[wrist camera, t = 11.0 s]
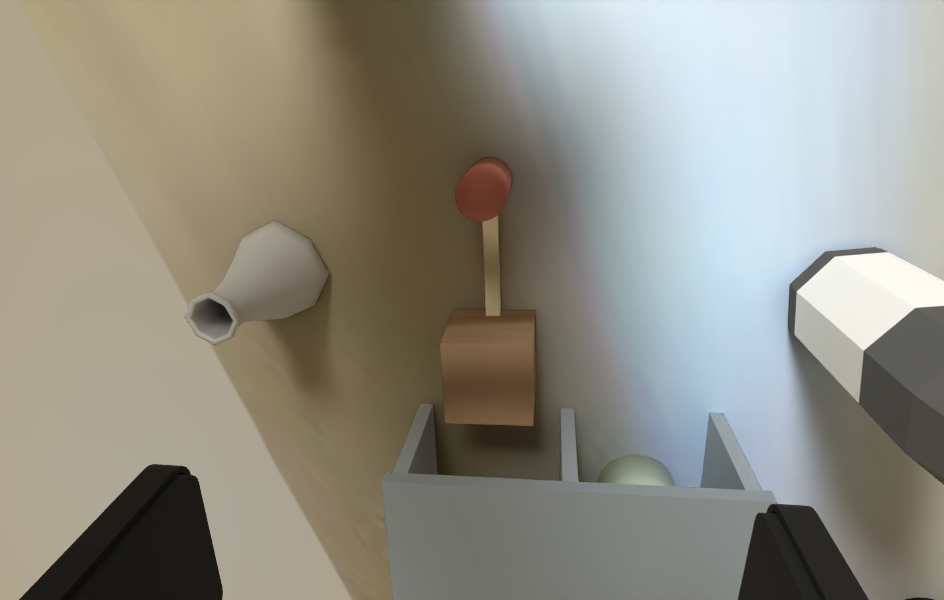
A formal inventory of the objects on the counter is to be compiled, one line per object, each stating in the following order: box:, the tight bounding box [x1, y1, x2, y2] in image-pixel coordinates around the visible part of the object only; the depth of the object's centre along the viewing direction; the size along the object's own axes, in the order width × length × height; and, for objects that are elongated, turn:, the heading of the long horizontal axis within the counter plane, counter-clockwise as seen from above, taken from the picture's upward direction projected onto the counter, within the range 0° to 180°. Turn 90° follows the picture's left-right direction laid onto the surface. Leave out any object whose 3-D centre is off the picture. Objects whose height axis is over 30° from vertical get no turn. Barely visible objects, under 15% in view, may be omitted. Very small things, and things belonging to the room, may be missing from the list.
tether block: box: [440, 157, 536, 426], centre depth 41 cm, size 17×6×6 cm, turn 2°
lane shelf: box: [381, 403, 777, 600], centre depth 44 cm, size 12×24×10 cm, turn 92°
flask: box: [185, 221, 329, 345], centre depth 41 cm, size 7×7×10 cm
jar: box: [597, 455, 675, 486], centre depth 45 cm, size 6×6×7 cm
